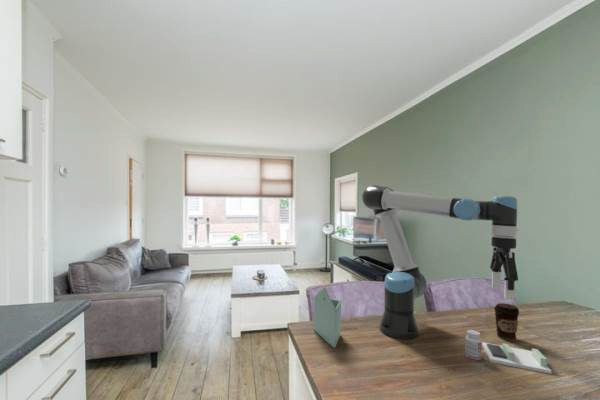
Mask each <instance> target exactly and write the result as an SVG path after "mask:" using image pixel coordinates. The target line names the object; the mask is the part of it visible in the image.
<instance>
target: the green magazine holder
mask: <svg viewBox="0 0 600 400" xmlns="http://www.w3.org/2000/svg"><path fill="white" fill-rule="evenodd" d="M313 301H314V302H313V305H314V306H313V309H314V310H313V330H314V331H315V332H316V334H318V335H319V336H321V338H322V339H323V340H324V341H326V343H328V345H330V346H331V347H332V348H334V349H335V348H336V346H337V344H338V343H339V340H340V336H341V321H342V320H341V318H342V315H341V314H342V301H341V300H339V299H338V300H337V299H334V298H333V299H332V298H331V297H330V294H329V292H328V290H327V287H326V286H323V287H322V289H321V290H319V291H318V293H316V294H315V295H314V300H313Z"/></svg>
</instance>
